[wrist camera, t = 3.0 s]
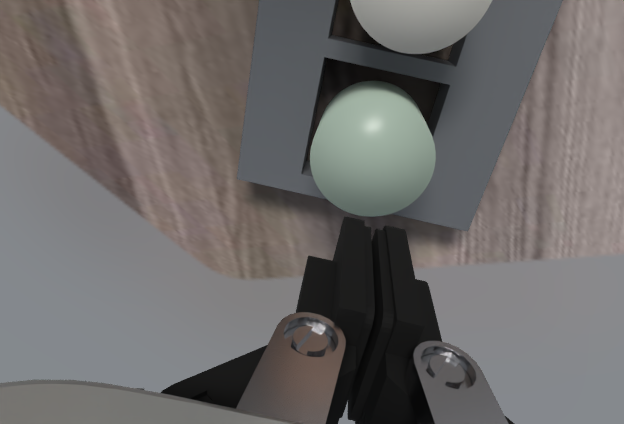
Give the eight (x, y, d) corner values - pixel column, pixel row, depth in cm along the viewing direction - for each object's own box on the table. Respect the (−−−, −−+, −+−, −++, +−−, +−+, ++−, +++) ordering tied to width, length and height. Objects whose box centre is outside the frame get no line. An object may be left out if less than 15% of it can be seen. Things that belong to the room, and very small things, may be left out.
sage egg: (438, 93, 22) (453, 113, 18) (406, 191, 25) (414, 228, 21) (331, 69, 22) (323, 85, 18) (310, 170, 25) (299, 201, 21)
